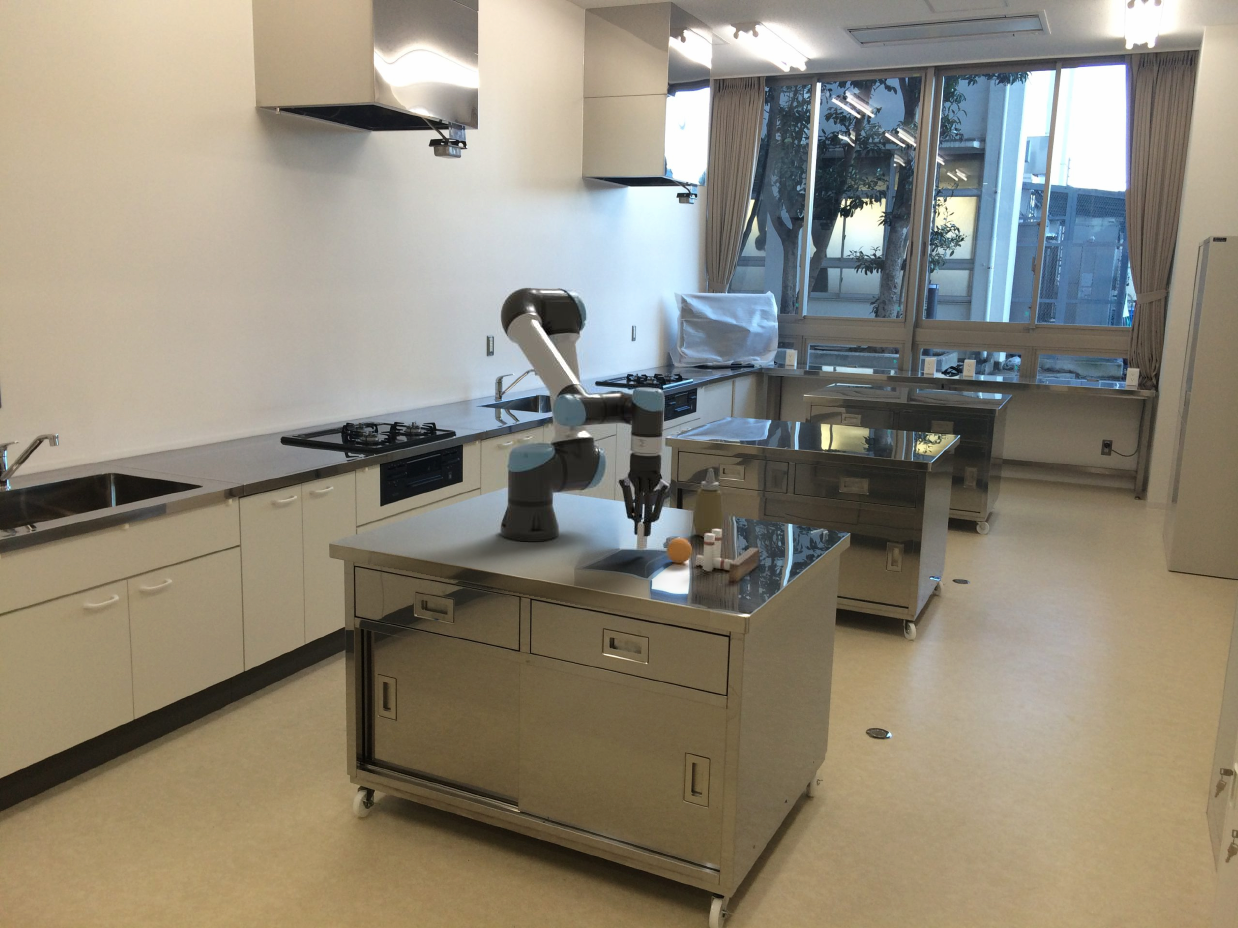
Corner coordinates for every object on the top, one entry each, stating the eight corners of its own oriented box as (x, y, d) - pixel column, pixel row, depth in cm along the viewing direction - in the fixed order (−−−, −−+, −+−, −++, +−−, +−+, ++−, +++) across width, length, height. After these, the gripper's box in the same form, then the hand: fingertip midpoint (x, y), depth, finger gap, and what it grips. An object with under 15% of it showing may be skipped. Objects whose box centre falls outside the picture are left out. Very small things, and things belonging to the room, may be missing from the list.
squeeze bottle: (720, 540, 256) (724, 473, 252) (690, 537, 257) (693, 470, 254) (723, 533, 263) (727, 467, 260) (694, 530, 265) (697, 465, 262)
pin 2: (708, 565, 232) (710, 530, 231) (711, 562, 235) (713, 528, 233) (718, 566, 231) (720, 531, 230) (721, 564, 234) (723, 529, 232)
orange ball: (690, 559, 229) (671, 570, 232) (700, 552, 234) (681, 562, 237) (677, 537, 229) (658, 548, 232) (687, 530, 234) (668, 541, 237)
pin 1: (700, 570, 228) (702, 534, 226) (704, 567, 230) (706, 532, 229) (711, 571, 227) (713, 536, 225) (714, 569, 229) (716, 534, 228)
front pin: (695, 556, 231) (729, 561, 227) (699, 553, 233) (733, 558, 229) (695, 566, 231) (729, 571, 228) (699, 563, 233) (732, 568, 230)
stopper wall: (728, 580, 221) (729, 563, 220) (749, 563, 235) (750, 547, 234) (737, 581, 220) (738, 564, 219) (757, 564, 234) (758, 548, 234)
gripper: (614, 452, 233) (610, 548, 237) (665, 458, 227) (660, 555, 232) (627, 448, 239) (623, 541, 244) (677, 453, 234) (672, 548, 238)
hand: (641, 548), depth 238 cm, fingers closed
